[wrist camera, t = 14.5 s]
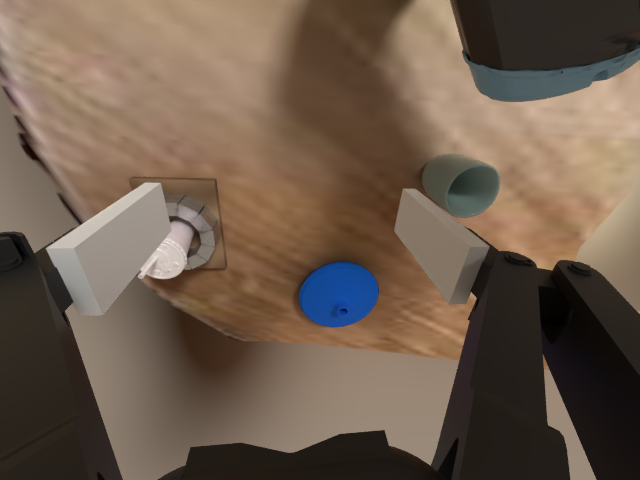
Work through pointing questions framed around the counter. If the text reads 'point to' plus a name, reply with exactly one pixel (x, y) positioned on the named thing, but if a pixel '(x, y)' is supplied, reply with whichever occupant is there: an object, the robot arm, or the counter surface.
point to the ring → (200, 220)
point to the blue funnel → (338, 294)
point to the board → (202, 192)
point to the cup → (460, 184)
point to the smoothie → (170, 252)
